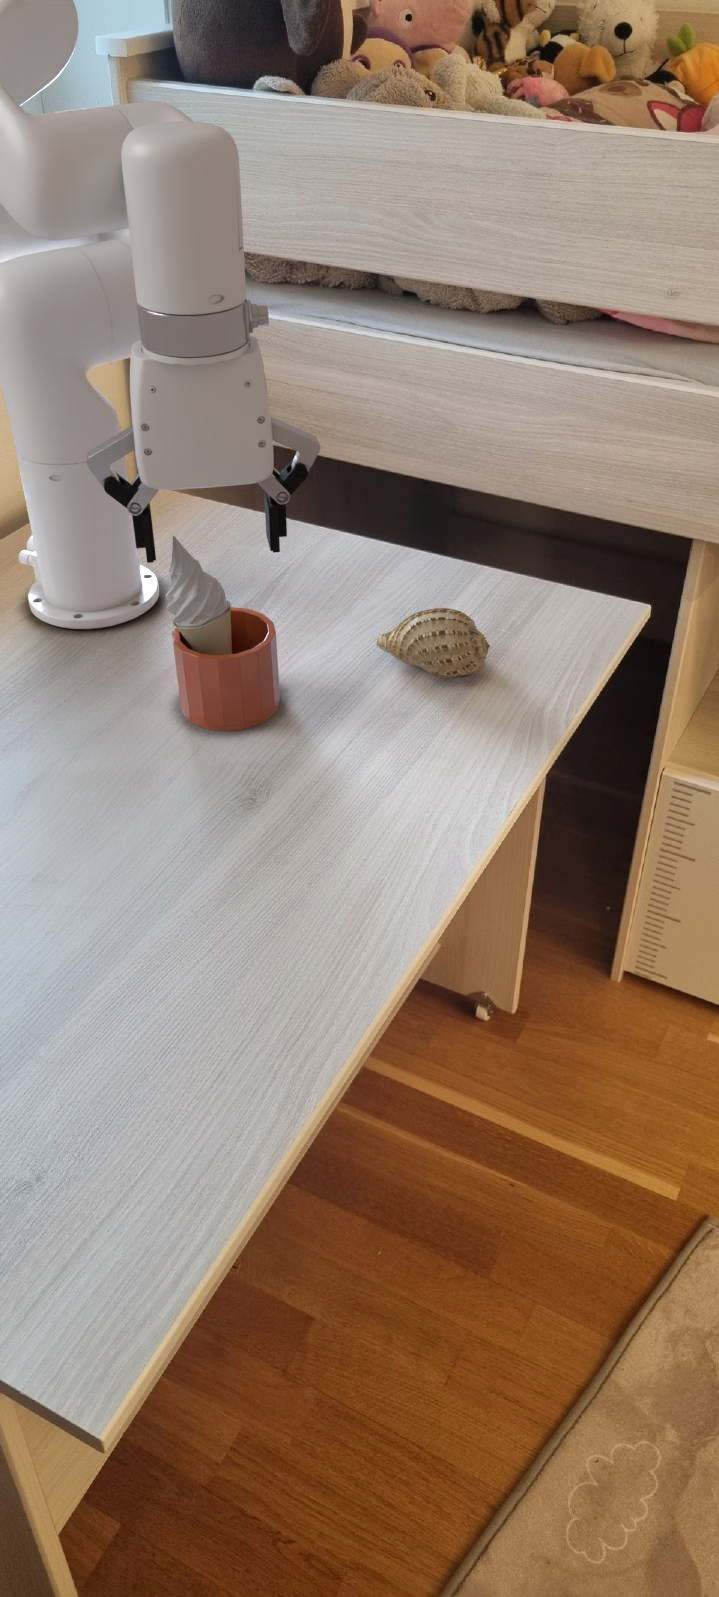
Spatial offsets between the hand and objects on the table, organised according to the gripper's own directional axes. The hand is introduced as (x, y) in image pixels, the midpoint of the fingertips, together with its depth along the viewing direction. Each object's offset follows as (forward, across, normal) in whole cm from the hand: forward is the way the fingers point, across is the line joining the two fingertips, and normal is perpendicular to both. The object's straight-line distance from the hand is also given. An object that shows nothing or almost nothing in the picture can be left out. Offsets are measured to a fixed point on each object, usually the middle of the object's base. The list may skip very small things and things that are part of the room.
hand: (212, 549), depth 94 cm
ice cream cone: (+14, 0, +1) cm, 14 cm away
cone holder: (+14, 0, +1) cm, 14 cm away
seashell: (+14, -19, -2) cm, 24 cm away
